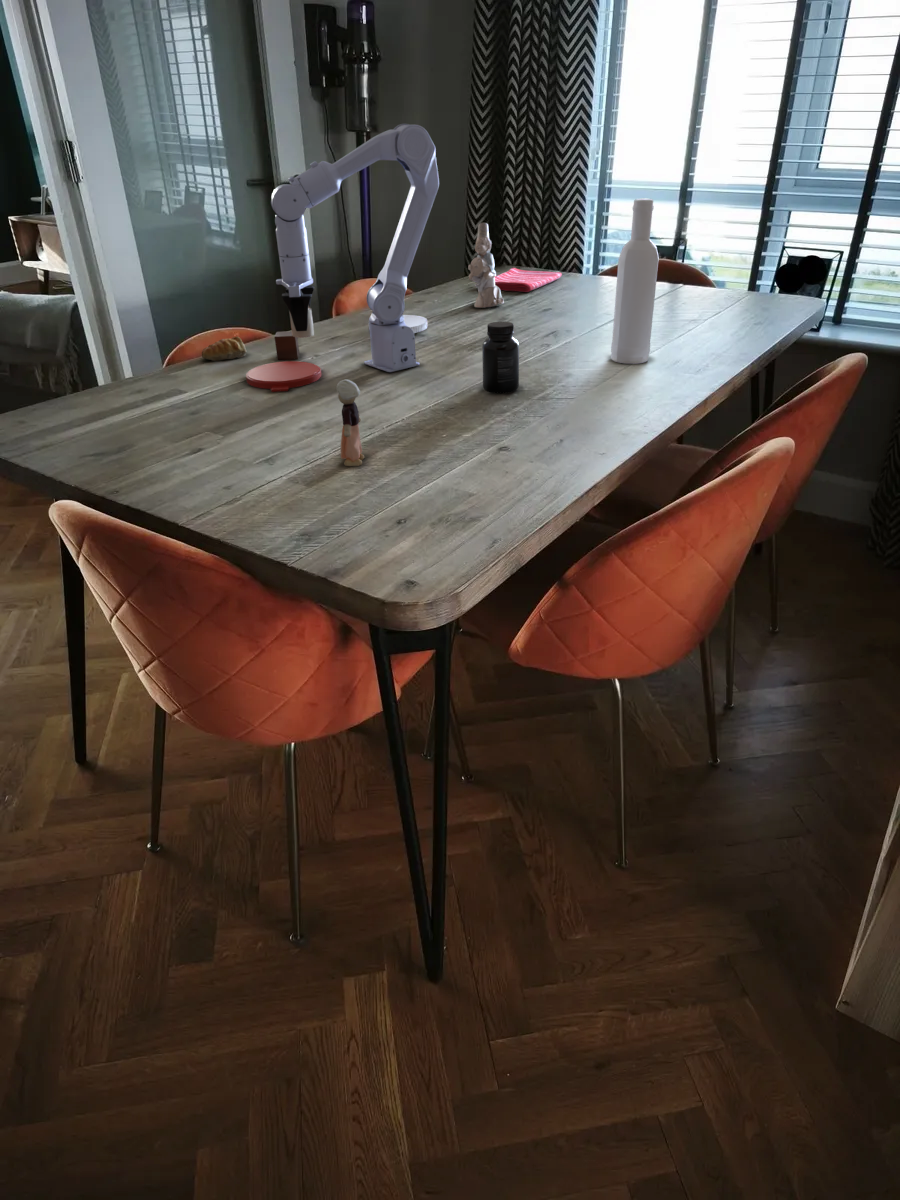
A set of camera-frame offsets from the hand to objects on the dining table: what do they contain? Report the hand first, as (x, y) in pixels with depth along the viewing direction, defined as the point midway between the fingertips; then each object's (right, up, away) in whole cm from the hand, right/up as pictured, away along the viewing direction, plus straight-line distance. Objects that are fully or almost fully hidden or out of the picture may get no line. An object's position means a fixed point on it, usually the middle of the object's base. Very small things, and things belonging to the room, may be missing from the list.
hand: (302, 327), depth 161 cm
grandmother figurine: (+15, -34, -38) cm, 53 cm away
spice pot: (0, -1, +1) cm, 1 cm away
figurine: (+39, +24, +54) cm, 71 cm away
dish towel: (+51, +39, +77) cm, 100 cm away
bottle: (+67, -5, +6) cm, 68 cm away
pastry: (-20, -1, +17) cm, 26 cm away
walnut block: (-6, -1, +15) cm, 16 cm away
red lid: (-4, -10, +2) cm, 11 cm away
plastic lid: (+17, +9, +32) cm, 37 cm away
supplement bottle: (+39, -15, -8) cm, 43 cm away
